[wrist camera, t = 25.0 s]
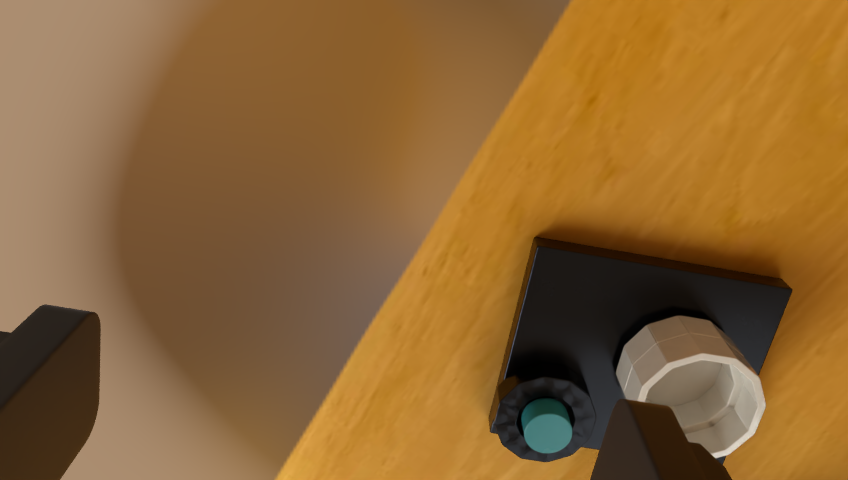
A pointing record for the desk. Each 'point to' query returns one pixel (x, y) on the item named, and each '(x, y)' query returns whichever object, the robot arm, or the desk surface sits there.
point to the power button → (546, 425)
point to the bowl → (694, 381)
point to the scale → (612, 330)
